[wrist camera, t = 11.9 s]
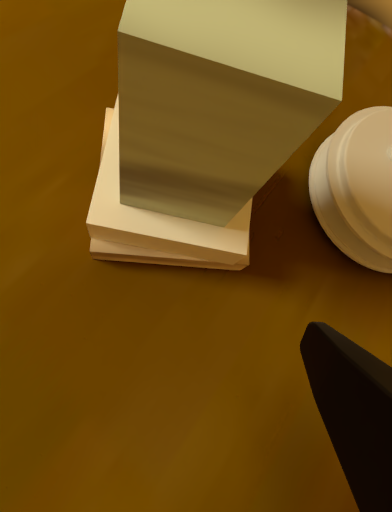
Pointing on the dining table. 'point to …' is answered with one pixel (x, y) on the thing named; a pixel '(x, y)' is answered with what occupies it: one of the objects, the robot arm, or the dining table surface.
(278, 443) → the dining table surface
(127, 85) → the pillar block
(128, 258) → the tower base slab
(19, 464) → the dining table surface
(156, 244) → the tower top slab
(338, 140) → the lid
